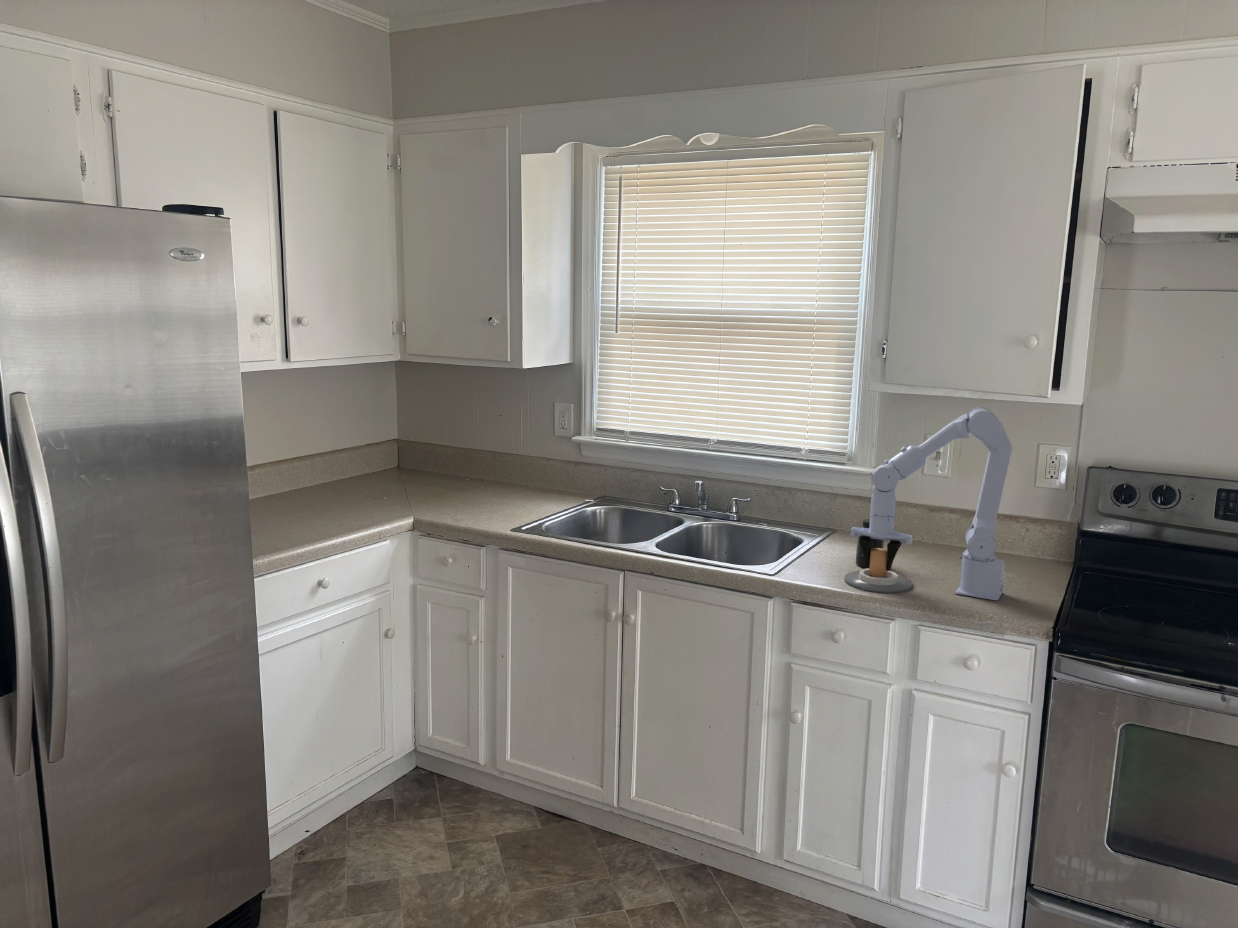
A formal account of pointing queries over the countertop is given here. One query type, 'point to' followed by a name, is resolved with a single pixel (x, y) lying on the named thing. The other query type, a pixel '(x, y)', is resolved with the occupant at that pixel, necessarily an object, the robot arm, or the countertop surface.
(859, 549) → the supplement bottle
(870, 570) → the tan rounded block
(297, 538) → the countertop surface
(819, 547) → the countertop surface
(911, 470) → the robot arm
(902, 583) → the tray
